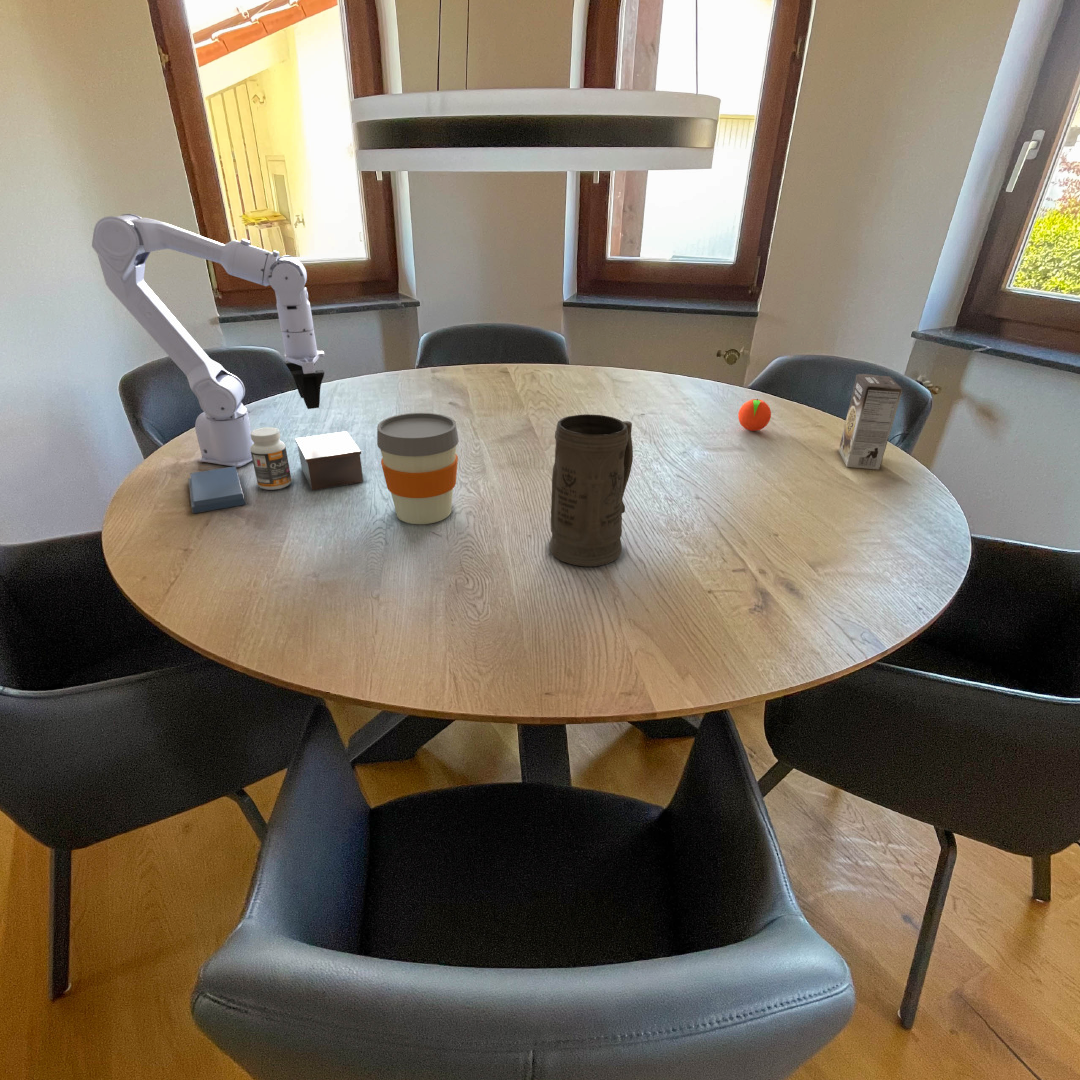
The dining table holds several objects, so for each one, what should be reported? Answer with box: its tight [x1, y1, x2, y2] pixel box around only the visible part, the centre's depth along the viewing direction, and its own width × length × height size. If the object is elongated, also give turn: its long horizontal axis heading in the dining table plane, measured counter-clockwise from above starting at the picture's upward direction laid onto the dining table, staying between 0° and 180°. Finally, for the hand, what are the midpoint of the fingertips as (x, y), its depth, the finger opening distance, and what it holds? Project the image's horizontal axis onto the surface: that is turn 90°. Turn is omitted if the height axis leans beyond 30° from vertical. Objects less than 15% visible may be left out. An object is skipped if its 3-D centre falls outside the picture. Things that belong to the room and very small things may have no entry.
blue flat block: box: [188, 466, 246, 514], centre depth 113 cm, size 8×13×2 cm, turn 27°
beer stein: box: [549, 413, 634, 567], centre depth 95 cm, size 15×11×20 cm
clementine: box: [737, 398, 772, 432], centre depth 145 cm, size 8×7×7 cm
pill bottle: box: [250, 426, 292, 491], centre depth 115 cm, size 6×6×10 cm
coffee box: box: [838, 373, 904, 470], centre depth 128 cm, size 9×6×16 cm
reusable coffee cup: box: [376, 412, 460, 525], centre depth 105 cm, size 13×13×15 cm
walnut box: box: [294, 431, 364, 491], centre depth 120 cm, size 9×11×6 cm
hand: (309, 402), depth 126 cm, fingers open, 7 cm apart
